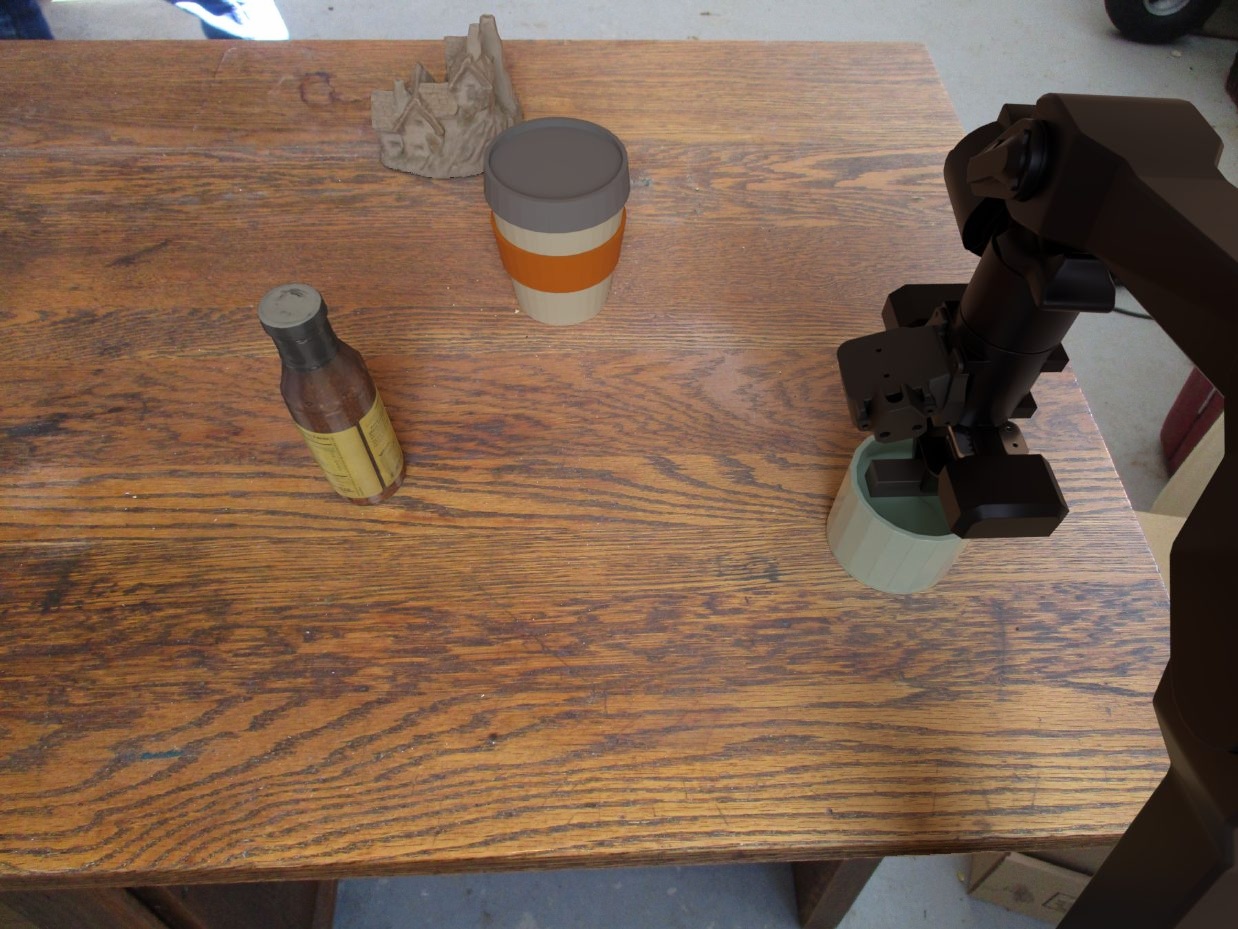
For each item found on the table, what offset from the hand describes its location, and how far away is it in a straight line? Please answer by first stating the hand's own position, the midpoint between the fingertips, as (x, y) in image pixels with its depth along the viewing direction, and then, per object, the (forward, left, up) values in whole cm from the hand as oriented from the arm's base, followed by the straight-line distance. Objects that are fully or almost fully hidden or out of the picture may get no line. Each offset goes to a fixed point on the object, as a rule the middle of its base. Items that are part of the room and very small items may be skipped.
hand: (923, 477), depth 59 cm
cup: (0, 0, -8) cm, 9 cm away
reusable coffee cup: (+37, +10, -9) cm, 39 cm away
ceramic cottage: (+66, +9, -9) cm, 67 cm away
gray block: (0, 0, -1) cm, 1 cm away
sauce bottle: (+25, +34, -9) cm, 43 cm away
